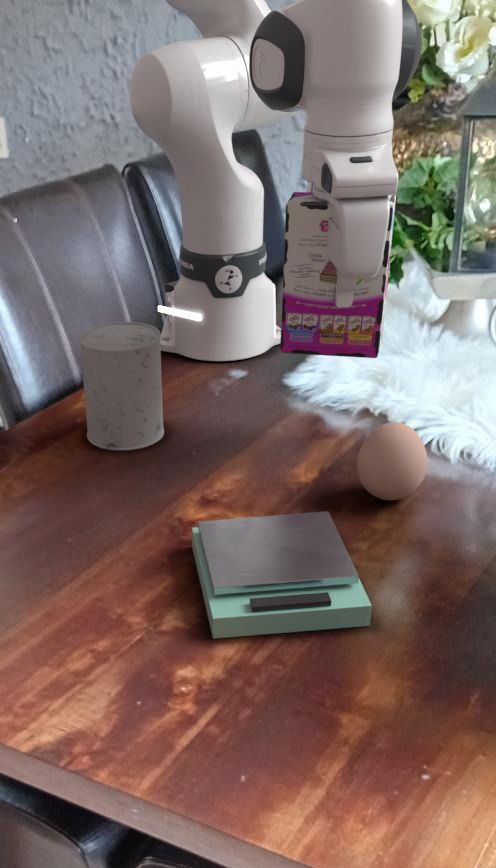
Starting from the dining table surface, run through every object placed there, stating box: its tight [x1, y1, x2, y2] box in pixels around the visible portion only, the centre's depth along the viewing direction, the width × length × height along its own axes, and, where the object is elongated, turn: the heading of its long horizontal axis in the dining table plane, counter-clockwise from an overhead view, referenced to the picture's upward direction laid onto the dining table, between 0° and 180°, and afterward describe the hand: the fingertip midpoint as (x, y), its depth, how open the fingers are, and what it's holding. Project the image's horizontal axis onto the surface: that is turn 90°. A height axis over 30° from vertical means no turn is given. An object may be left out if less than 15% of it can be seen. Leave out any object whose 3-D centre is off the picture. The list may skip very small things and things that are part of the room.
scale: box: [191, 526, 373, 640], centre depth 94 cm, size 16×14×3 cm
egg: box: [356, 421, 428, 501], centre depth 105 cm, size 7×7×8 cm
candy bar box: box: [279, 191, 397, 359], centre depth 110 cm, size 11×5×16 cm, turn 75°
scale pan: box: [197, 510, 360, 595], centre depth 94 cm, size 12×13×1 cm
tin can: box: [78, 321, 165, 452], centre depth 120 cm, size 10×10×12 cm
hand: (334, 294), depth 111 cm, fingers closed on candy bar box, 6 cm apart
